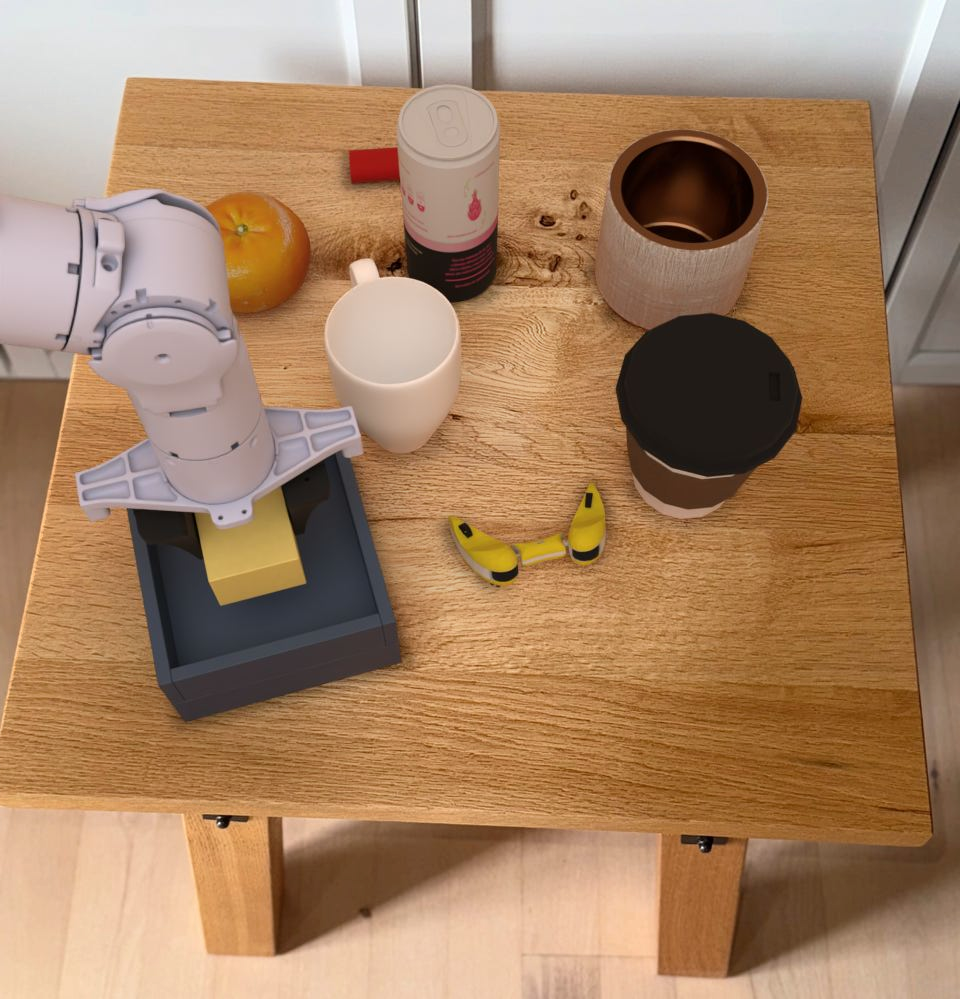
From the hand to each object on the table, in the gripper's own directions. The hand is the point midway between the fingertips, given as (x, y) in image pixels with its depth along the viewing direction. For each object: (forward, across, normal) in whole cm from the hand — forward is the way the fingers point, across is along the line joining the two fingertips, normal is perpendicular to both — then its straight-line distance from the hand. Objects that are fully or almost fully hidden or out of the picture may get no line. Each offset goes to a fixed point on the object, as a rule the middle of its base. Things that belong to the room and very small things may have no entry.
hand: (248, 531), depth 70 cm
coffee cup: (+8, +28, 0) cm, 29 cm away
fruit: (+8, +4, +24) cm, 26 cm away
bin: (+8, 0, 0) cm, 8 cm away
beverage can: (+8, +18, +21) cm, 29 cm away
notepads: (0, 0, 0) cm, 0 cm away
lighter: (+8, +17, +31) cm, 37 cm away
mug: (+8, +11, +11) cm, 18 cm away
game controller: (+8, +17, -2) cm, 19 cm away
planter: (+8, +33, +16) cm, 38 cm away
